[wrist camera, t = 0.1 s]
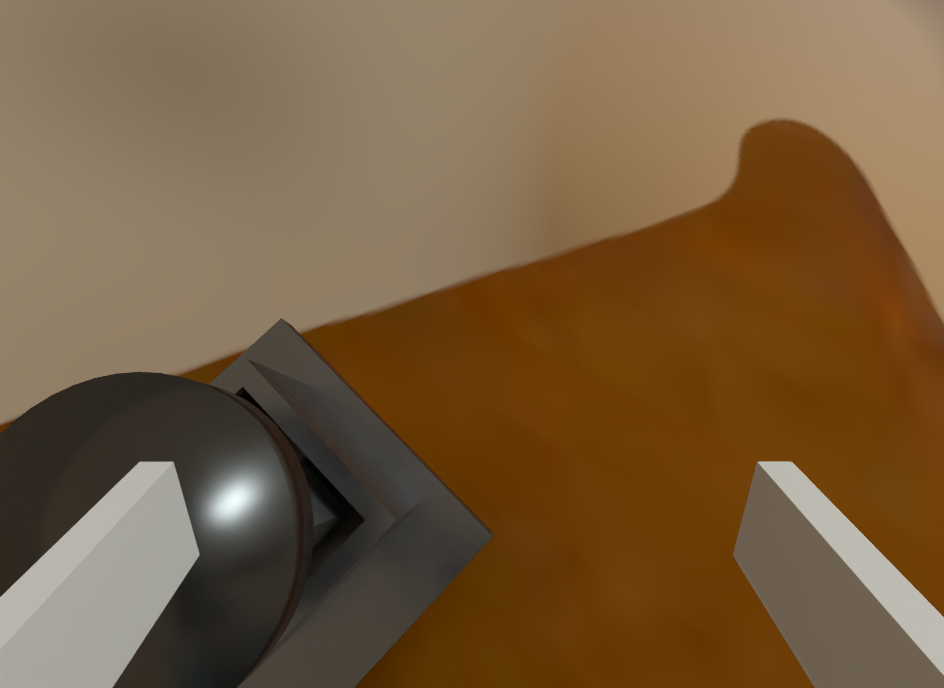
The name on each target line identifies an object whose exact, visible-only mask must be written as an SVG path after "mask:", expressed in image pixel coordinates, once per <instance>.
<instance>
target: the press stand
mask: <svg viewBox="0 0 944 688" xmlns="http://www.w3.org/2000/svg"><path fill="white" fill-rule="evenodd" d="M209 385H212V386H215V387H218V388H221V389H223V390H226V391H229V392H231V393H233V394H235V395H237V396H239V397H241V398H243V399H245V400H247V401H248V402H249V403H251V404H252V405H254V406H255V407H257V408H258V409H259V410H261V411H262V412H263V413H264V414H265V415H266V416H267V417H268V418H269V419H270V420H272V421H273V422H274V423H275V424H276V426H277V427H278V428H279V429H280V431H281V432H282V433H283V434H284V436H285V437H286V438H287V439H288V441H289V443H290V445H291V446H292V448H293V450H294V451H295V453H296V455H297V456H298V457H299V458H300V459H301V461H302V462H303V463H304V464H305V465H306V466H307V467H308V468H309V469H310V470H311V471H312V473H313V474H314V475H315V476H316V477H317V478H318V479H319V480H320V481H321V482H322V484H323V485H324V486H325V487H326V488H327V489H328V490H329V491H330V492H331V493H332V494H333V496H334V497H335V498H336V499H337V500H338V501H339V502H340V503H341V504H342V505H343V506H344V508H345V509H346V510H347V511H348V513H347V514H346V515H345V516H344V517H343V518H342V519H341V520H340V521H339V522H338V523H337V524H336V525H335V526H334V527H333V528H332V529H331V530H330V531H329V532H328V533H327V534H326V535H325V536H324V537H323V538H322V539H321V540H320V541H319V542H318V543H317V544H316V545H315V546H314V547H313V549H312V558H311V564H310V568H309V573H308V577H307V581H306V585H305V588H304V590H303V593H302V596H301V599H300V601H299V604H298V607H297V609H296V611H295V613H294V615H293V617H292V619H291V621H290V623H289V625H288V627H287V629H286V630H285V632H284V633H283V635H282V636H281V638H280V639H279V641H278V642H277V644H276V645H275V647H274V648H273V650H272V651H271V652H270V653H269V655H268V656H267V657H266V658H265V659H264V660H263V662H262V663H261V664H260V665H259V666H258V667H257V669H256V670H255V671H254V672H253V673H251V674H250V675H249V676H248V677H247V678H246V679H245V680H244V681H243V682H242V683H241V684H240V685H239V686H238V687H237V688H354V687H355V686H356V685H357V684H358V683H359V682H360V681H361V680H362V678H363V677H364V676H365V675H366V674H367V673H368V672H369V671H370V670H371V669H372V668H373V666H374V665H375V664H376V663H377V662H378V661H379V660H380V659H381V658H382V657H383V656H384V654H385V653H386V652H387V651H388V650H389V649H390V648H391V647H392V646H393V645H394V644H395V642H396V641H397V640H398V639H399V638H400V637H401V636H402V635H403V634H404V633H405V632H406V630H407V629H408V628H409V627H410V626H411V625H412V624H413V623H414V622H415V621H416V620H417V618H418V617H419V616H420V615H421V614H422V613H423V612H424V611H425V610H426V609H427V608H428V606H429V605H430V604H431V603H432V602H433V601H434V600H435V599H436V598H437V597H438V596H439V594H440V593H441V592H442V591H443V590H444V589H445V588H446V587H447V586H448V585H449V584H450V582H451V581H452V580H453V579H454V578H455V577H456V576H457V575H458V574H459V573H460V572H461V570H462V569H463V568H464V567H465V566H466V565H467V564H468V563H469V562H470V561H471V560H472V558H473V557H474V556H475V555H476V554H477V553H478V552H479V551H480V550H481V549H482V548H483V546H484V545H485V544H486V543H487V542H488V541H489V540H490V539H491V538H492V537H493V535H492V531H491V530H490V529H489V528H488V527H487V526H486V525H485V524H484V523H483V522H482V521H481V520H480V519H479V518H478V517H477V516H476V515H475V514H474V513H473V512H472V511H471V510H470V509H469V508H468V507H467V506H466V505H465V504H464V503H463V502H462V501H461V500H460V499H459V497H458V496H457V495H456V494H455V493H454V492H453V491H452V490H451V489H450V488H449V487H448V486H447V485H446V484H445V483H444V482H443V481H442V480H441V479H440V478H439V477H438V476H437V475H436V474H435V473H434V472H433V471H432V470H431V469H430V468H429V467H428V466H427V465H426V463H425V462H424V461H423V460H422V459H421V458H420V457H419V456H418V455H417V454H416V453H415V452H414V451H413V450H412V449H411V448H410V447H409V446H408V445H407V444H406V443H405V442H404V441H403V440H402V439H401V438H400V437H399V436H398V435H397V434H396V433H395V432H394V431H393V429H392V428H391V427H390V426H389V425H388V424H387V423H386V422H385V421H384V420H383V419H382V418H381V417H380V416H379V415H378V414H377V413H376V412H375V411H374V410H373V409H372V408H371V407H370V406H369V405H368V404H367V403H366V402H365V401H364V400H363V399H362V398H361V396H360V395H359V394H358V393H357V392H356V391H355V390H354V389H353V388H352V387H351V386H350V385H349V384H348V383H347V382H346V381H345V380H344V379H343V378H342V377H341V376H340V375H339V374H338V373H337V372H336V371H335V370H334V369H333V368H332V367H331V366H330V365H329V364H328V362H327V361H326V360H325V359H324V358H323V357H322V356H321V355H320V354H319V353H318V352H317V351H316V350H315V349H314V348H313V347H312V346H311V345H310V344H309V343H308V342H307V341H306V340H305V339H304V338H303V337H302V336H301V335H300V334H299V333H298V332H297V331H296V330H295V328H294V327H293V326H292V325H290V324H289V323H287V322H286V321H285V320H283V319H280V320H279V321H278V322H277V323H276V324H275V325H274V326H272V327H271V328H270V329H269V330H268V331H267V332H266V333H265V334H264V335H263V336H262V337H260V338H259V339H258V340H257V341H256V342H255V343H254V344H253V345H252V346H250V347H249V348H248V349H247V350H246V351H245V352H244V353H243V354H242V355H241V356H240V357H238V358H237V359H236V360H235V361H234V362H233V363H232V364H231V365H230V366H229V367H227V368H226V369H225V370H224V371H223V372H222V373H221V374H220V375H219V376H218V377H216V378H215V379H214V380H213V381H212V382H211V383H210V384H209Z"/></svg>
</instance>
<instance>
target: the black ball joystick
mask: <svg viewBox="0 0 944 688" xmlns="http://www.w3.org/2000/svg"><path fill="white" fill-rule="evenodd" d="M139 462H174V465H175V469H176V472H177V476H178V479H179V483H180V486H181V490H182V494H183V497H184V501H185V504H186V508H187V511H188V515H189V518H190V522H191V526H192V529H193V533H194V536H195V540H196V543H197V547H198V550H199V554H200V555H199V557H198V558H197V560H196V561H195V563H194V564H193V566H192V567H191V569H190V570H189V572H188V573H187V575H186V576H185V578H184V579H183V581H182V582H181V584H180V586H179V587H178V589H177V590H176V592H175V593H174V595H173V596H172V598H171V599H170V601H169V602H168V604H167V605H166V607H165V608H164V610H163V611H162V613H161V614H160V616H159V617H158V619H157V621H156V622H155V624H154V625H153V627H152V628H151V630H150V631H149V633H148V634H147V636H146V637H145V639H144V640H143V642H142V643H141V645H140V646H139V648H138V649H137V651H136V652H135V654H134V656H133V657H132V659H131V660H130V662H129V663H128V665H127V666H126V668H125V669H124V671H123V672H122V674H121V675H120V677H119V678H118V680H117V681H116V683H115V684H114V686H113V688H237V687H238V686H239V685H240V684H241V683H242V682H243V681H244V680H245V679H246V678H247V677H248V676H249V675H250V674H251V673H253V672H254V671H255V670H256V669H257V667H258V666H259V665H260V664H261V663H262V662H263V660H264V659H265V658H266V657H267V656H268V655H269V653H270V652H271V651H272V650H273V648H274V647H275V645H276V644H277V642H278V641H279V639H280V638H281V636H282V635H283V633H284V632H285V630H286V629H287V627H288V625H289V623H290V621H291V619H292V617H293V615H294V613H295V611H296V609H297V607H298V604H299V601H300V599H301V596H302V593H303V590H304V588H305V585H306V581H307V577H308V573H309V568H310V564H311V558H312V549H313V547H314V546H315V545H316V544H317V543H318V542H319V541H320V540H321V539H322V538H323V537H324V536H325V535H326V534H327V533H328V532H329V531H330V530H331V529H332V528H333V527H334V526H335V525H336V524H337V523H338V522H339V521H340V520H341V519H342V518H343V517H344V516H345V515H346V514H347V513H348V511H347V510H346V509H345V508H344V506H343V505H342V504H341V503H340V502H339V501H338V500H337V499H336V498H335V497H334V496H333V494H332V493H331V492H330V491H329V490H328V489H327V488H326V487H325V486H324V485H323V484H322V482H321V481H320V480H319V479H318V478H317V477H316V476H315V475H314V474H313V473H312V471H311V470H310V469H309V468H308V467H307V466H306V465H305V464H304V463H303V462H302V461H301V459H300V458H299V457H298V456H297V455H296V453H295V451H294V450H293V448H292V446H291V445H290V443H289V441H288V439H287V438H286V437H285V436H284V434H283V433H282V432H281V431H280V429H279V428H278V427H277V426H276V424H275V423H274V422H273V421H272V420H270V419H269V418H268V417H267V416H266V415H265V414H264V413H263V412H262V411H261V410H259V409H258V408H257V407H255V406H254V405H252V404H251V403H249V402H248V401H247V400H245V399H243V398H241V397H239V396H237V395H235V394H233V393H231V392H229V391H226V390H223V389H221V388H218V387H215V386H212V385H208V384H205V383H201V382H197V381H194V380H190V379H186V378H183V377H178V376H173V375H168V374H162V373H149V372H133V373H120V374H113V375H108V376H103V377H99V378H94V379H91V380H88V381H85V382H82V383H79V384H76V385H73V386H71V387H69V388H67V389H65V390H62V391H60V392H58V393H56V394H54V395H52V396H50V397H48V398H47V399H45V400H44V401H42V402H40V403H39V404H37V405H35V406H34V407H32V408H31V409H29V410H28V411H27V412H25V413H24V414H23V415H22V416H20V417H19V418H18V419H16V420H15V421H14V422H13V423H11V424H10V425H9V426H8V427H7V428H6V429H5V430H4V431H3V432H2V433H1V434H0V597H1V596H2V595H3V594H4V593H5V592H6V591H7V590H8V589H9V588H10V587H11V586H12V585H13V584H14V583H15V582H16V581H17V580H19V579H20V578H21V577H22V576H23V575H24V574H25V573H26V572H27V571H28V570H29V569H30V568H31V567H32V566H33V565H34V564H35V563H36V562H37V561H38V560H39V559H40V558H41V557H42V556H43V555H44V554H45V553H46V552H47V551H48V550H49V549H50V548H51V547H52V546H54V545H55V544H56V543H57V542H58V541H59V540H60V539H61V538H62V537H63V536H64V535H65V534H66V533H67V532H68V531H69V530H70V529H71V528H72V527H73V526H74V525H75V524H76V523H77V522H78V521H79V520H80V519H81V518H82V517H83V516H84V515H85V514H86V513H87V512H89V511H90V510H91V509H92V508H93V507H94V506H95V505H96V504H97V503H98V502H99V501H100V500H101V499H102V498H103V497H104V496H105V495H106V494H107V493H108V492H109V491H110V490H111V489H112V488H113V487H114V486H115V485H116V484H117V483H118V482H119V481H120V480H121V479H122V478H124V477H125V476H126V475H127V474H128V473H129V472H130V471H131V470H132V469H133V468H134V467H135V466H136V465H137V464H138V463H139Z"/></svg>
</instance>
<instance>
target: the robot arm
mask: <svg viewBox="0 0 944 688" xmlns="http://www.w3.org/2000/svg"><path fill="white" fill-rule="evenodd" d="M199 555H200V554H199V550H198V547H197V543H196V540H195V536H194V533H193V529H192V526H191V522H190V518H189V515H188V511H187V508H186V504H185V501H184V497H183V494H182V490H181V486H180V483H179V479H178V476H177V472H176V469H175V465H174V462H139V463H138V464H137V465H136V466H135V467H134V468H133V469H132V470H131V471H130V472H129V473H128V474H127V475H126V476H125V477H124V478H122V479H121V480H120V481H119V482H118V483H117V484H116V485H115V486H114V487H113V488H112V489H111V490H110V491H109V492H108V493H107V494H106V495H105V496H104V497H103V498H102V499H101V500H100V501H99V502H98V503H97V504H96V505H95V506H94V507H93V508H92V509H91V510H90V511H89V512H87V513H86V514H85V515H84V516H83V517H82V518H81V519H80V520H79V521H78V522H77V523H76V524H75V525H74V526H73V527H72V528H71V529H70V530H69V531H68V532H67V533H66V534H65V535H64V536H63V537H62V538H61V539H60V540H59V541H58V542H57V543H56V544H55V545H54V546H52V547H51V548H50V549H49V550H48V551H47V552H46V553H45V554H44V555H43V556H42V557H41V558H40V559H39V560H38V561H37V562H36V563H35V564H34V565H33V566H32V567H31V568H30V569H29V570H28V571H27V572H26V573H25V574H24V575H23V576H22V577H21V578H20V579H19V580H17V581H16V582H15V583H14V584H13V585H12V586H11V587H10V588H9V589H8V590H7V591H6V592H5V593H4V594H3V595H2V596H1V597H0V688H113V686H114V684H115V683H116V681H117V680H118V678H119V677H120V675H121V674H122V672H123V671H124V669H125V668H126V666H127V665H128V663H129V662H130V660H131V659H132V657H133V656H134V654H135V652H136V651H137V649H138V648H139V646H140V645H141V643H142V642H143V640H144V639H145V637H146V636H147V634H148V633H149V631H150V630H151V628H152V627H153V625H154V624H155V622H156V621H157V619H158V617H159V616H160V614H161V613H162V611H163V610H164V608H165V607H166V605H167V604H168V602H169V601H170V599H171V598H172V596H173V595H174V593H175V592H176V590H177V589H178V587H179V586H180V584H181V582H182V581H183V579H184V578H185V576H186V575H187V573H188V572H189V570H190V569H191V567H192V566H193V564H194V563H195V561H196V560H197V558H198V557H199ZM733 556H734V558H735V559H736V561H737V563H738V564H739V566H740V568H741V569H742V571H743V572H744V574H745V576H746V577H747V579H748V580H749V582H750V584H751V585H752V587H753V589H754V590H755V592H756V593H757V595H758V597H759V598H760V600H761V601H762V603H763V605H764V606H765V608H766V610H767V611H768V613H769V614H770V616H771V618H772V619H773V621H774V623H775V624H776V626H777V627H778V629H779V631H780V632H781V634H782V635H783V637H784V639H785V640H786V642H787V644H788V645H789V647H790V648H791V650H792V652H793V653H794V655H795V656H796V658H797V660H798V661H799V663H800V665H801V666H802V668H803V669H804V671H805V673H806V674H807V676H808V677H809V679H810V681H811V682H812V684H813V686H814V687H815V688H944V617H943V616H942V615H941V614H940V613H939V612H938V611H937V610H936V609H935V608H934V607H933V606H932V605H931V604H930V603H929V602H928V601H927V600H926V599H925V598H924V597H923V596H922V595H921V594H920V593H919V592H918V591H917V590H916V589H915V587H914V586H913V585H912V584H911V583H910V582H909V581H908V580H907V579H906V578H905V577H904V576H903V575H902V574H901V573H900V572H899V571H898V570H897V569H896V568H895V567H894V566H893V565H892V564H891V563H890V562H889V561H888V560H887V559H886V558H885V557H884V556H883V555H882V554H881V553H880V552H879V551H878V550H877V549H876V548H875V547H874V546H873V545H872V543H871V542H870V541H869V540H868V539H867V538H866V537H865V536H864V535H863V534H862V533H861V532H860V531H859V530H858V529H857V528H856V527H855V526H854V525H853V524H852V523H851V522H850V521H849V520H848V519H847V518H846V517H845V516H844V515H843V514H842V513H841V512H840V511H839V510H838V509H837V508H836V507H835V506H834V505H833V504H832V503H831V502H830V500H829V499H828V498H827V497H826V496H825V495H824V494H823V493H822V492H821V491H820V490H819V489H818V488H817V487H816V486H815V485H814V484H813V483H812V482H811V481H810V480H809V479H808V478H807V477H806V476H805V475H804V474H803V473H802V472H801V471H800V470H799V469H798V468H797V467H796V466H795V465H794V464H793V463H792V462H757V465H756V469H755V472H754V476H753V480H752V484H751V488H750V491H749V495H748V499H747V503H746V507H745V511H744V514H743V518H742V522H741V526H740V530H739V533H738V537H737V541H736V545H735V549H734V553H733Z"/></svg>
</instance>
